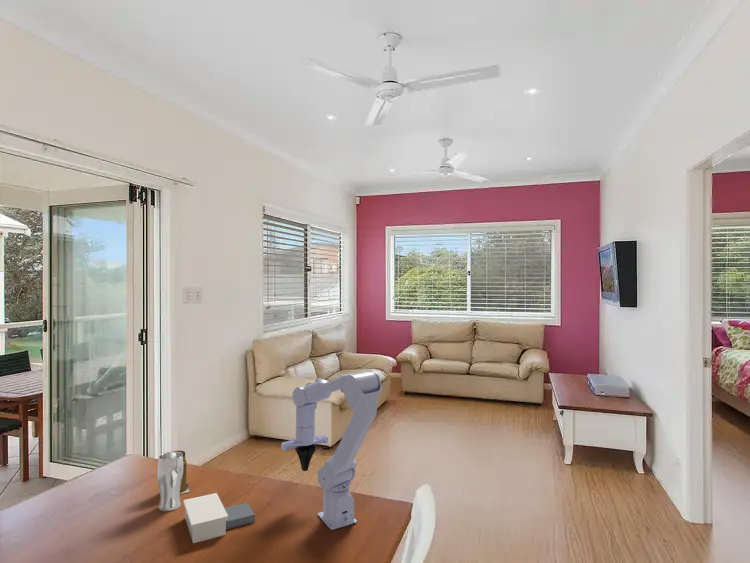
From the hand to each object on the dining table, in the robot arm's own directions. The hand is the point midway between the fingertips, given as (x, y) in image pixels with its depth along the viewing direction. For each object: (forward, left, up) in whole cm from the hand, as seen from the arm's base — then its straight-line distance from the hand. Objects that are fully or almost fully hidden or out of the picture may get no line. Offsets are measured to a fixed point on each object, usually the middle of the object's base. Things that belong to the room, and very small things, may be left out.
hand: (304, 469), depth 136 cm
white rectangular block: (-1, +29, -9) cm, 30 cm away
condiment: (+27, +33, -10) cm, 44 cm away
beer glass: (+16, +36, -10) cm, 41 cm away
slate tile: (-1, +24, -10) cm, 26 cm away
